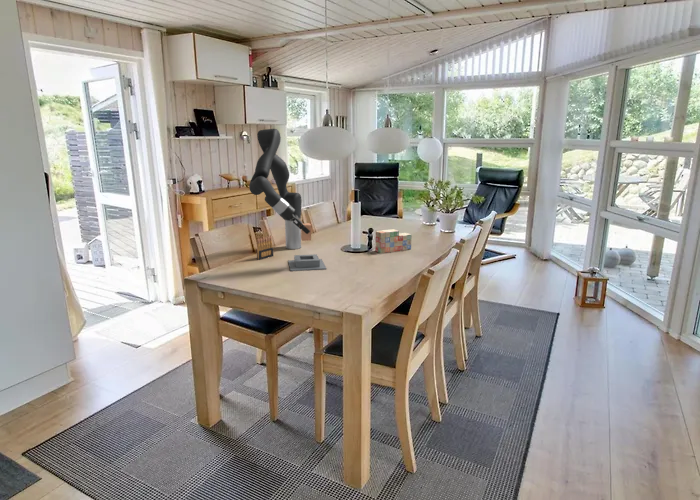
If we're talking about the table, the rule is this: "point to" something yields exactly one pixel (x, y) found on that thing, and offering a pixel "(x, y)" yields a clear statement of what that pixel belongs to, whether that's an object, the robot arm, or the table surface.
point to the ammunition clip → (264, 248)
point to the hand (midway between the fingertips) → (307, 231)
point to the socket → (306, 263)
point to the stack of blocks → (392, 241)
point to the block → (303, 235)
